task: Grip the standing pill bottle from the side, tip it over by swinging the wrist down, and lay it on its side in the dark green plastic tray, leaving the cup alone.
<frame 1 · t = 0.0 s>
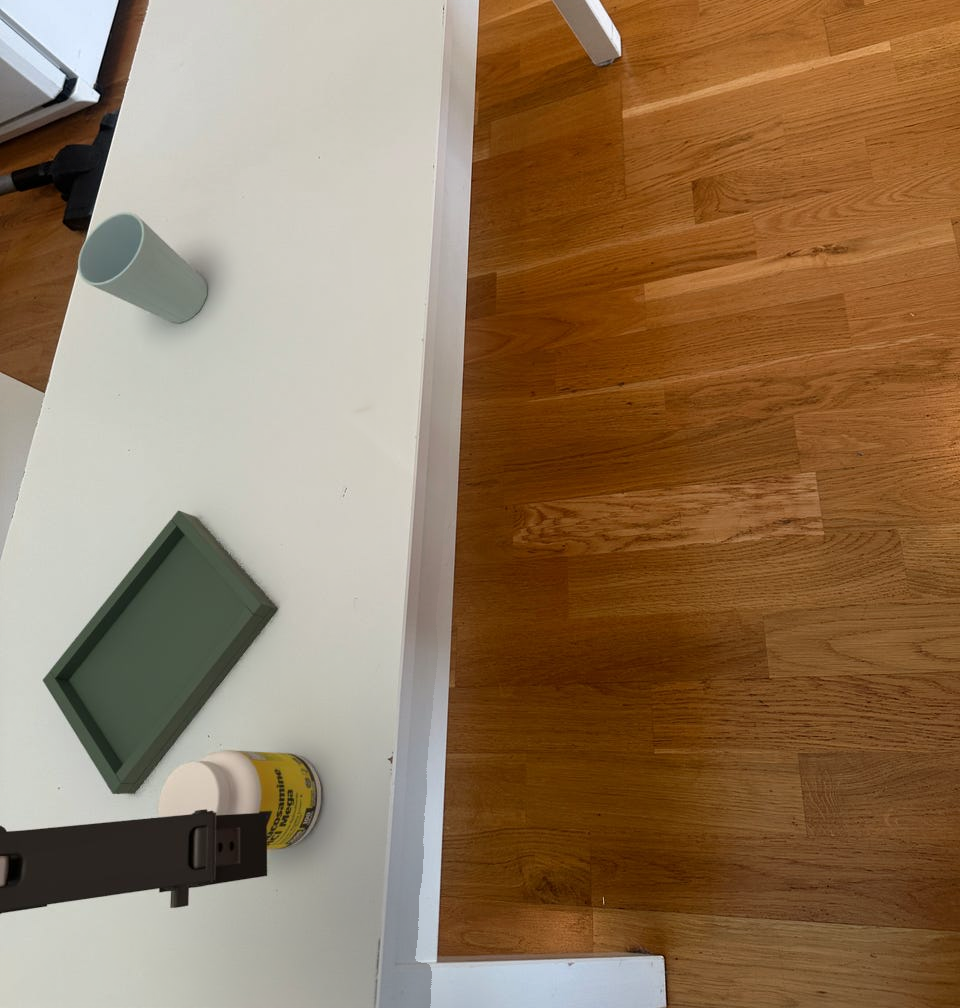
hand: (148, 861, 44), 20 cm above the table, tool pointing down, fingers open, 13 cm apart
tray: (166, 647, 73), on the table
cup: (187, 300, 89), on the table
pill bottle: (290, 799, 64), on the table
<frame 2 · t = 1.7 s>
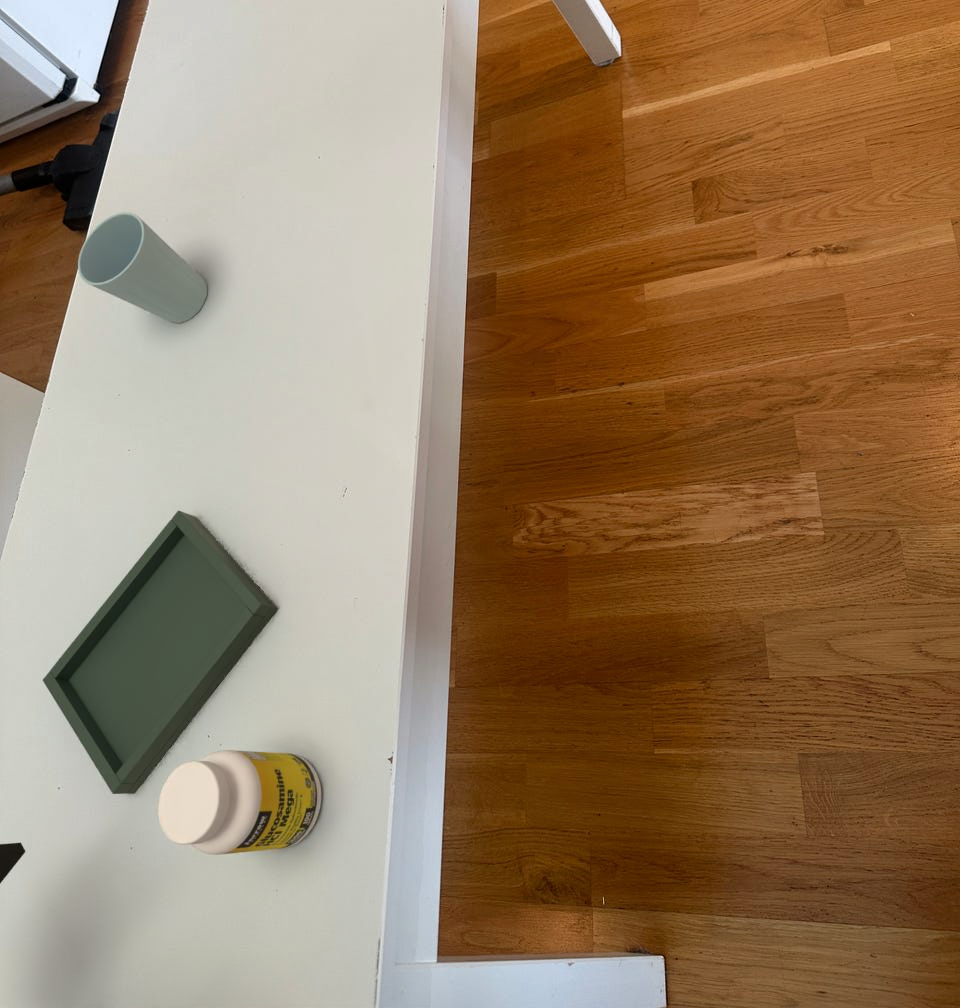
hand: (52, 938, 51), 14 cm above the table, tool horizontal, fingers open, 13 cm apart
nothing on the table moved.
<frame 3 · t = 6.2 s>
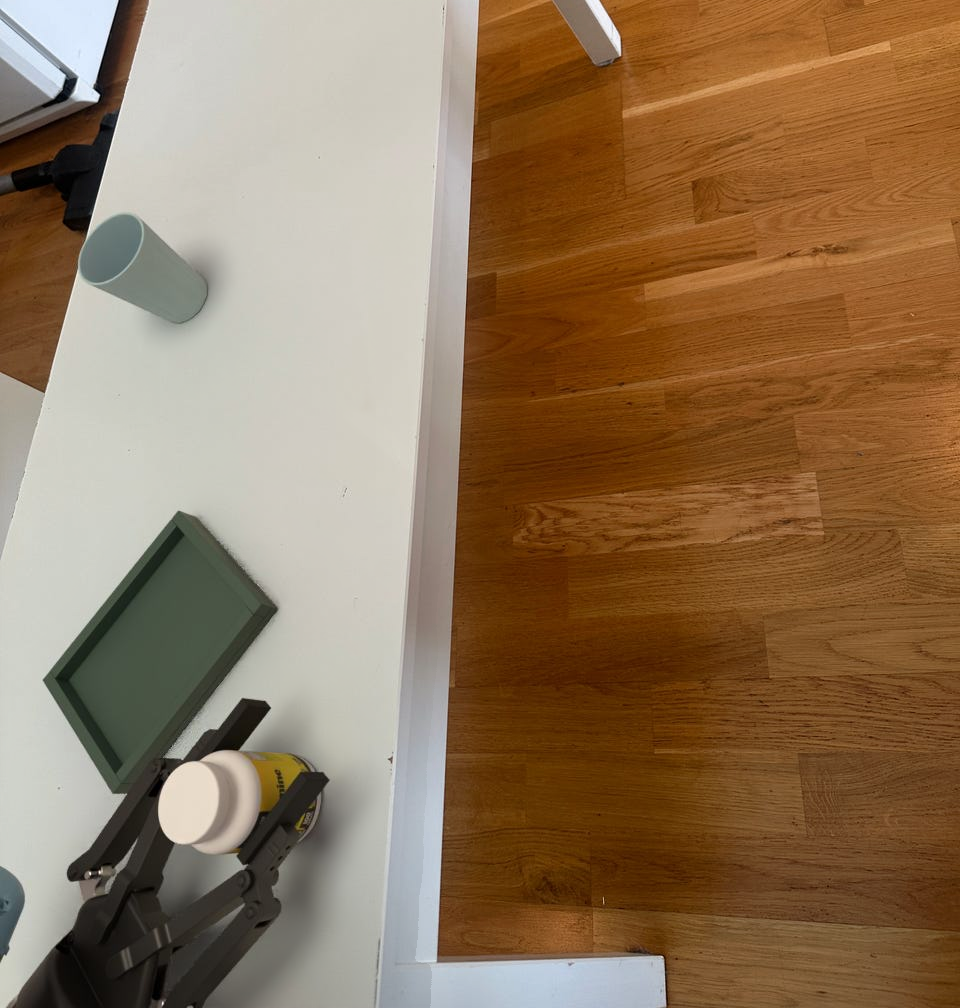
hand: (284, 738, 59), 6 cm above the table, tool horizontal, fingers closed on pill bottle, 6 cm apart
pill bottle: (290, 799, 64), on the table, touching gripper
everything else where it was.
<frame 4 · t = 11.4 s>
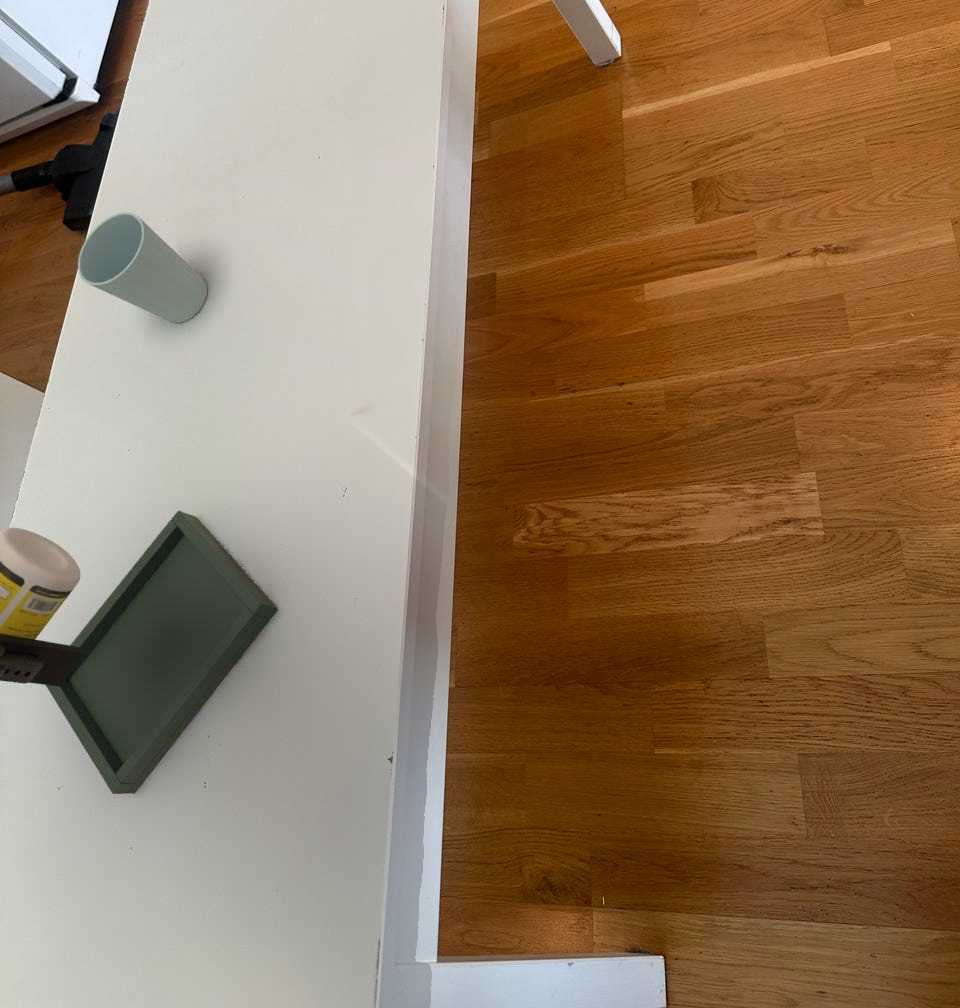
hand: (47, 635, 62), 12 cm above the table, tool pointing down, fingers closed on pill bottle, 6 cm apart
pill bottle: (45, 549, 59), point 17 cm above the table, touching gripper
everything else where it was.
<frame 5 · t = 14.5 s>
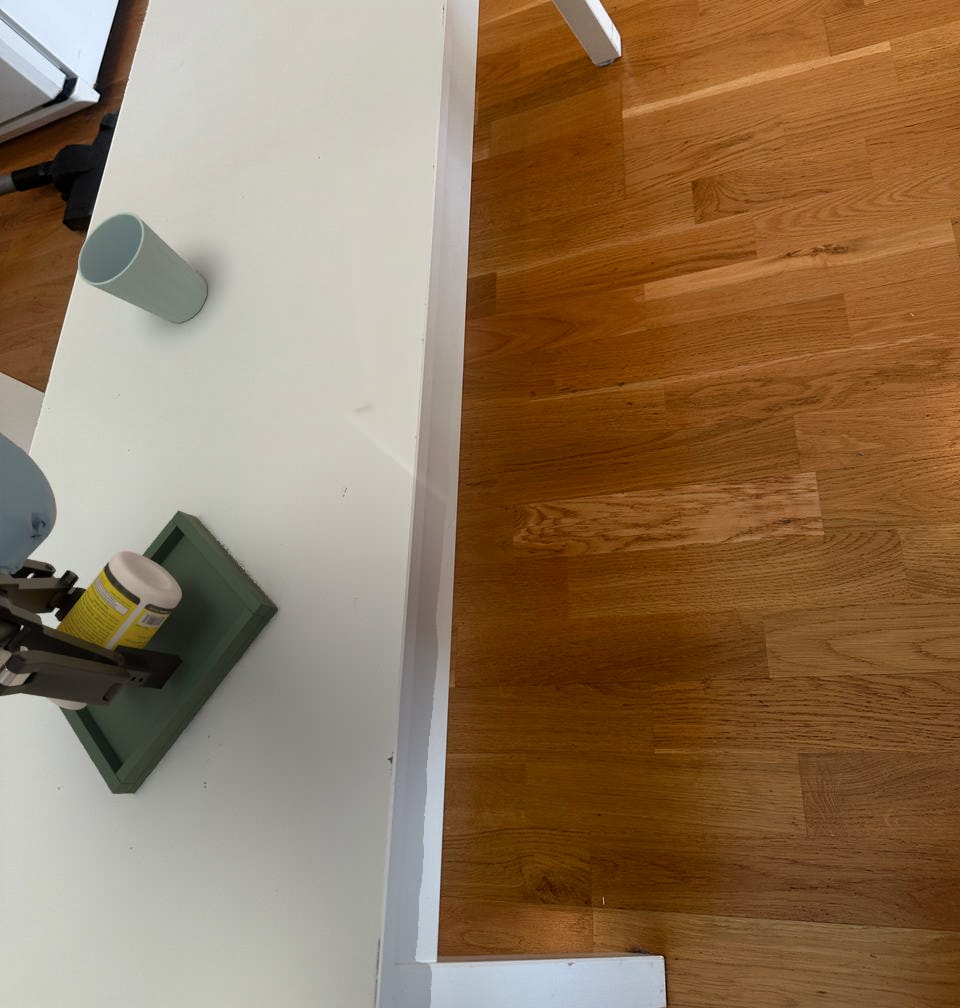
hand: (148, 643, 71), 2 cm above the table, tool pointing down, fingers closed on pill bottle, 6 cm apart
pill bottle: (153, 570, 68), point 7 cm above the table, touching gripper
everything else where it was.
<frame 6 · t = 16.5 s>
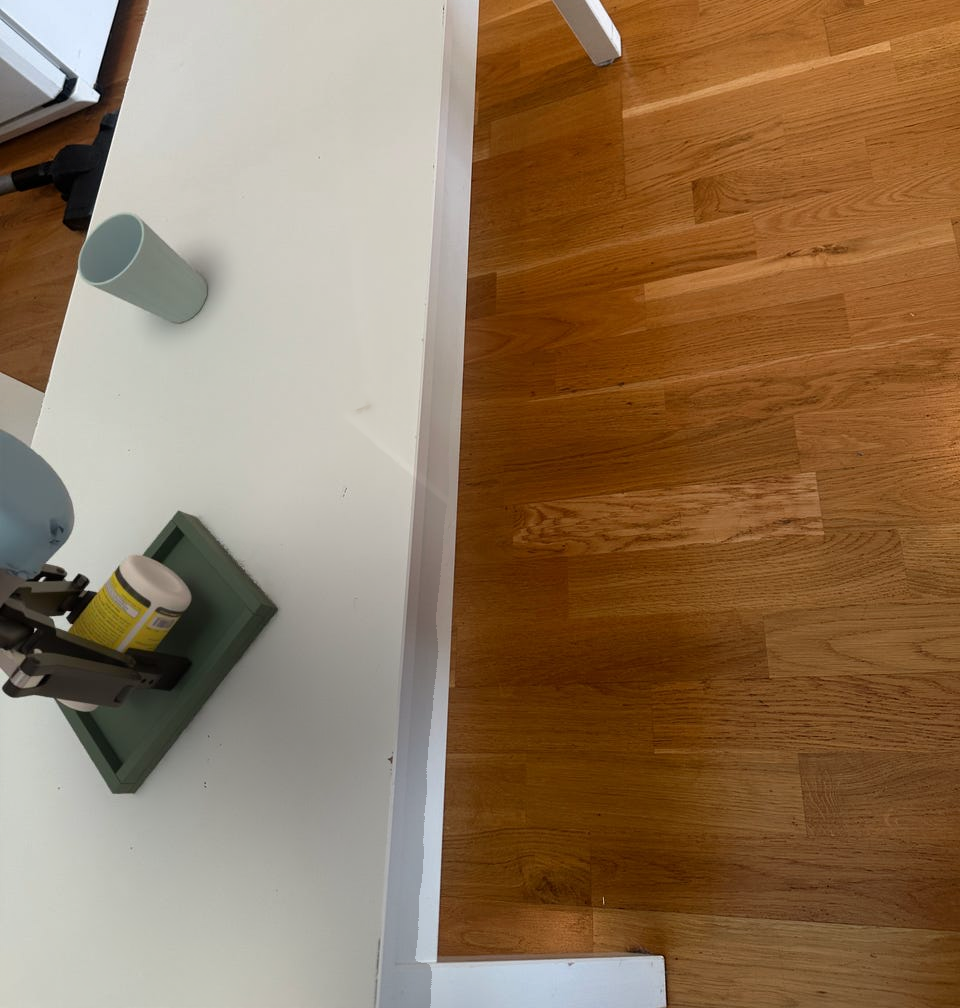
hand: (157, 646, 72), 1 cm above the table, tool pointing down, fingers closed on pill bottle, 6 cm apart
pill bottle: (163, 574, 69), point 6 cm above the table, touching gripper
everything else where it was.
when the fingers open (2 cm above the table, at t = 22.8 s): pill bottle drops 3 cm, resting on tray.
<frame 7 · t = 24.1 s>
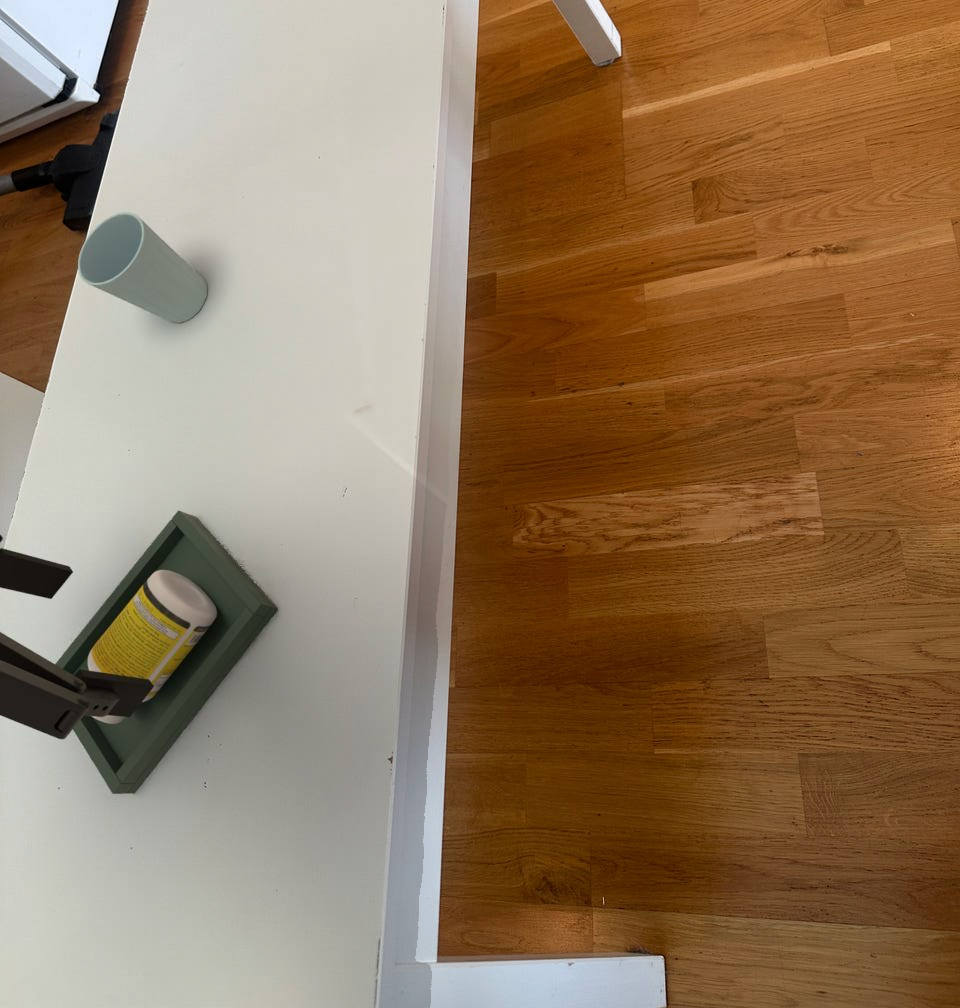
hand: (98, 637, 67), 8 cm above the table, tool pointing down, fingers open, 13 cm apart
pill bottle: (190, 589, 70), point 4 cm above the table, touching tray
everything else where it was.
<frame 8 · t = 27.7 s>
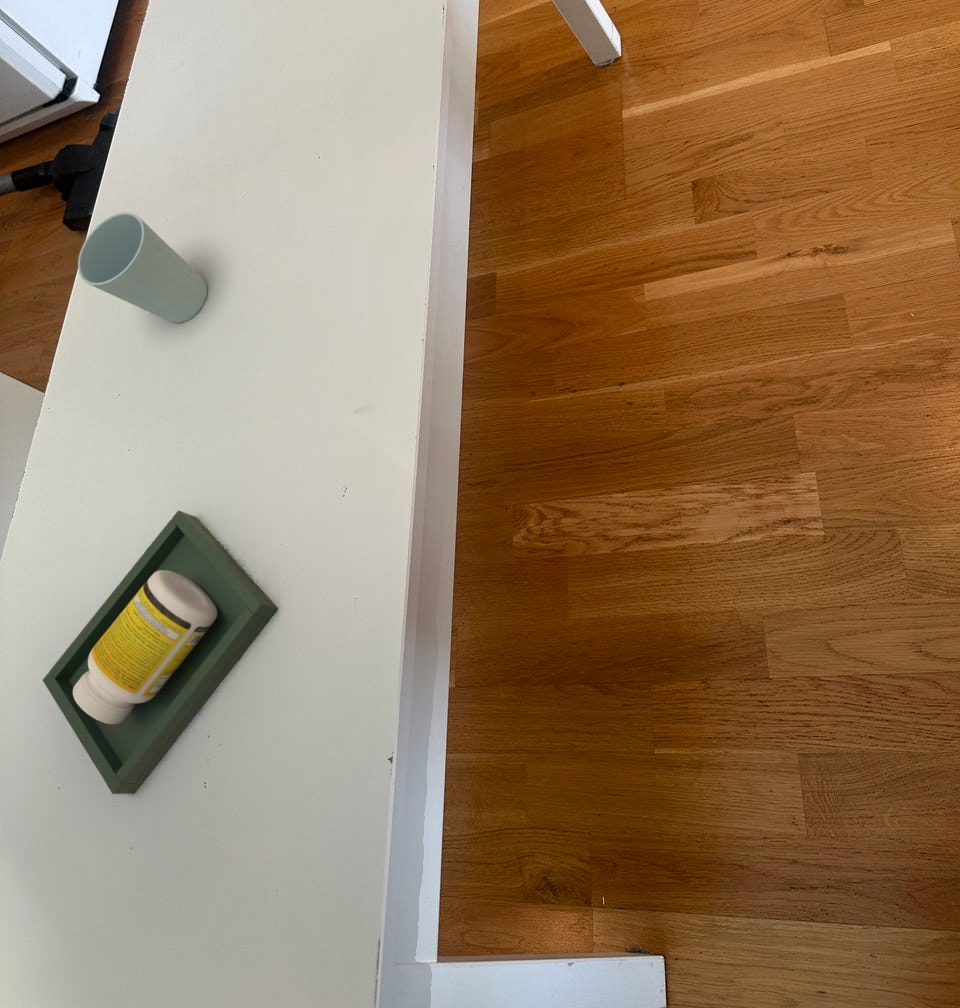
nothing on the table moved.
at the end: pill bottle tilted 90°; pill bottle inside the target area on the tray (6.2 cm from its centre), point 3.8 cm above the tray's base; cup moved 0.2 cm from its start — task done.
